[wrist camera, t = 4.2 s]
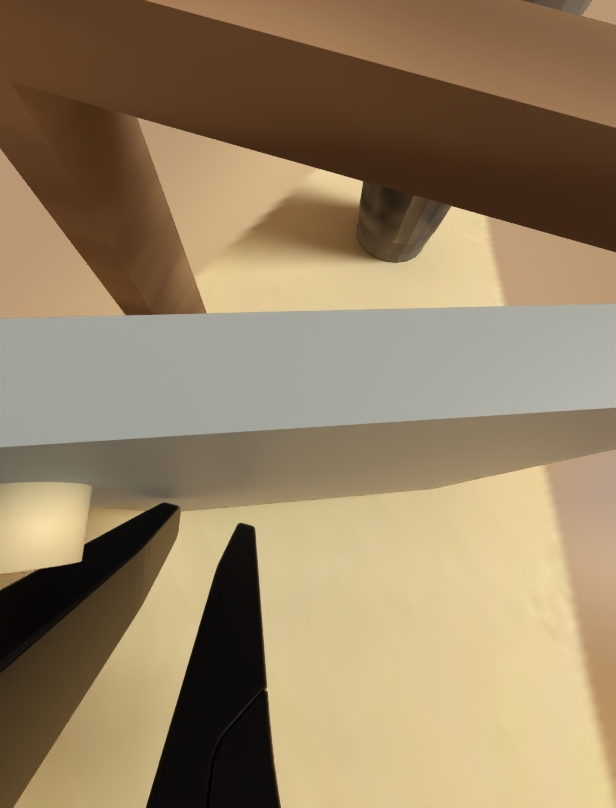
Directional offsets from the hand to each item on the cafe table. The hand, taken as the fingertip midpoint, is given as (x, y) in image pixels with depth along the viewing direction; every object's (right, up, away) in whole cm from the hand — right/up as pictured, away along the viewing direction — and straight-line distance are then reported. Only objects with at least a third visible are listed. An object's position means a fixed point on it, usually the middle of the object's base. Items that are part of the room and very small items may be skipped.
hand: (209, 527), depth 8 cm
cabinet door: (+3, -1, +6) cm, 6 cm away
